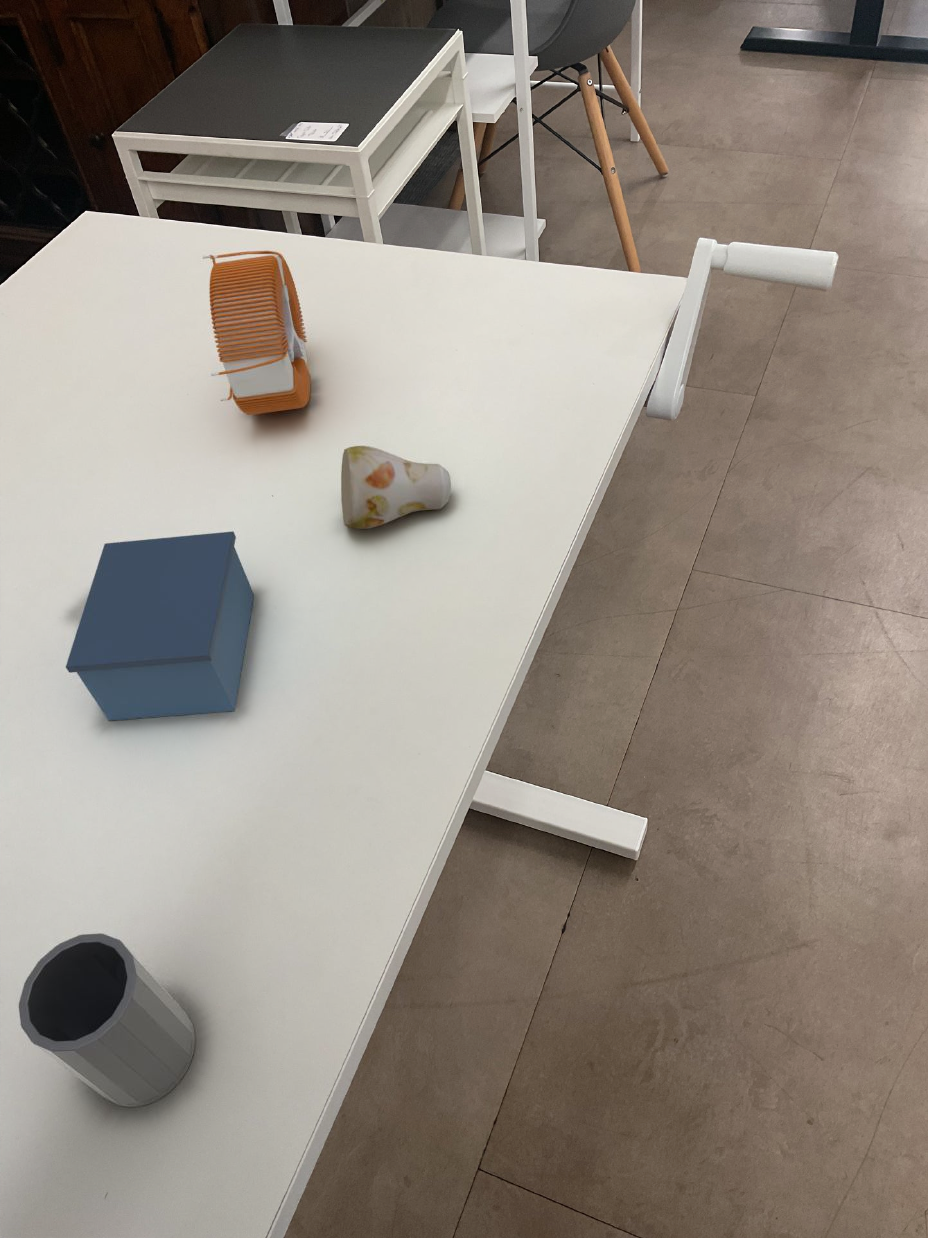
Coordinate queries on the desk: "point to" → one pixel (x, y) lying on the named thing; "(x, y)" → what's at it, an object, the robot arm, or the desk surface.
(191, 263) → the desk surface
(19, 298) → the desk surface
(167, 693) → the container
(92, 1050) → the cup
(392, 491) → the patterned salt shaker
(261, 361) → the coil
